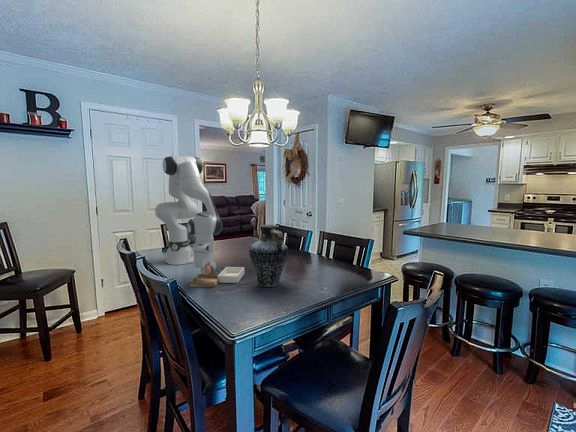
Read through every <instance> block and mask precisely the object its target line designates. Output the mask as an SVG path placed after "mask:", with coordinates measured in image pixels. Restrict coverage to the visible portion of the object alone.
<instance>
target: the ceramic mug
mask: <svg viewBox="0 0 576 432" xmlns="http://www.w3.org/2000/svg"><path fill="white" fill-rule="evenodd" d="M210 268H211V272H210V273H209V274H207V275H219V274H220V273H221V272H222V270H220V269H219V268H217V263H216V262H215V261H214V260H213V259H212V260H211V264H210ZM202 275H204V274H202Z"/></svg>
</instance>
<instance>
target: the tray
mask: <svg viewBox="0 0 576 432" xmlns="http://www.w3.org/2000/svg"><path fill="white" fill-rule="evenodd" d="M217 276H218V275H215V274H213V275H203V274H196V275H195V277H194V278H192V279H191V280H190V281H189V282H187V283H188V288H211V287H212V288H213V289H214V288H216V286H217V285H218V284H220V283H219V278H217Z"/></svg>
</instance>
